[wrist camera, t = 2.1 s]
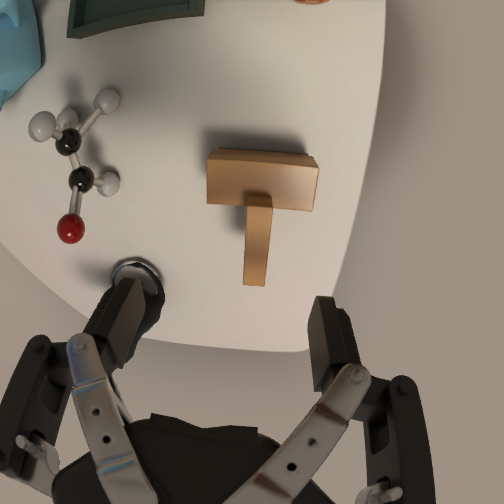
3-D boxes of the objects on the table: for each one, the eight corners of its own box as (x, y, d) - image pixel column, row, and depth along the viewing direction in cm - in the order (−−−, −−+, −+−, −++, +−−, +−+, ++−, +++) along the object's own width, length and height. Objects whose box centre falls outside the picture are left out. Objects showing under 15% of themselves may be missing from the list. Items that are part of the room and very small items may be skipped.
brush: (216, 145, 25) (201, 166, 20) (310, 152, 25) (324, 175, 20) (216, 241, 32) (205, 282, 26) (295, 247, 32) (301, 289, 26)
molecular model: (120, 84, 22) (53, 95, 13) (151, 189, 28) (105, 242, 19) (63, 112, 23) (-5, 138, 14) (94, 204, 29) (43, 255, 21)
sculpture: (93, 270, 35) (42, 352, 23) (152, 252, 33) (102, 351, 21) (123, 311, 40) (88, 393, 27) (181, 301, 37) (153, 398, 25)
